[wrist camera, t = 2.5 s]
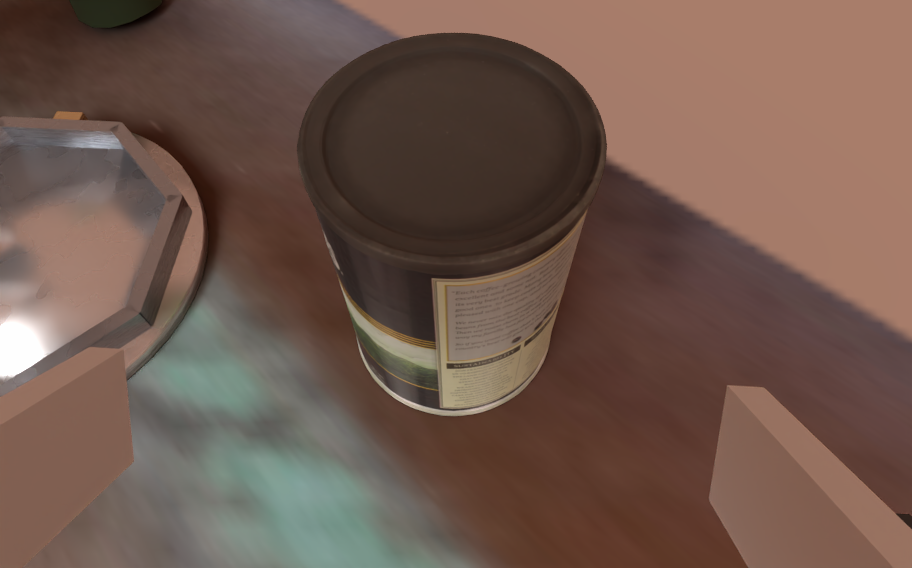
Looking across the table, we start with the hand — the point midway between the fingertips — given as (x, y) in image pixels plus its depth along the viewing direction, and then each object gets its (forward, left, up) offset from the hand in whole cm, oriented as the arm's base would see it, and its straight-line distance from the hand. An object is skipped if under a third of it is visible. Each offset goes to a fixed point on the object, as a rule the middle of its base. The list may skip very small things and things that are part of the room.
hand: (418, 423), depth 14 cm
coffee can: (0, +11, -16) cm, 20 cm away
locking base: (-24, +13, -16) cm, 32 cm away
